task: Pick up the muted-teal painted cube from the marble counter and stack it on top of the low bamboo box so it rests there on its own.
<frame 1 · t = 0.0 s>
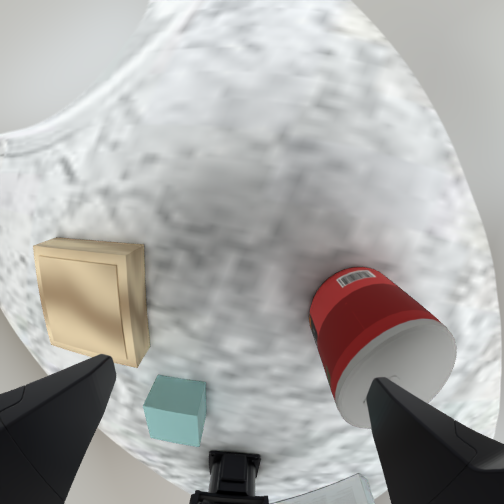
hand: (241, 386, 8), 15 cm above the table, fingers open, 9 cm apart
bamboo box: (101, 291, 24), on the table
canned food: (349, 305, 24), on the table
teal cube: (182, 395, 26), on the table
skincare box: (307, 497, 33), on the table
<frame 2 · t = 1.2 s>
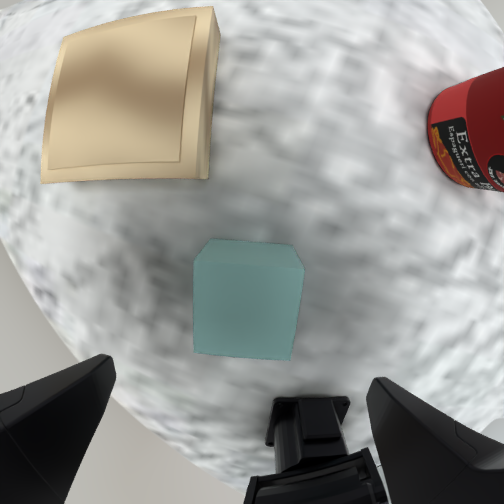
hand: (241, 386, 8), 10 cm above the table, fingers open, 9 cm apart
bamboo box: (140, 105, 16), on the table
canned food: (460, 137, 15), on the table
teal cube: (248, 279, 18), on the table
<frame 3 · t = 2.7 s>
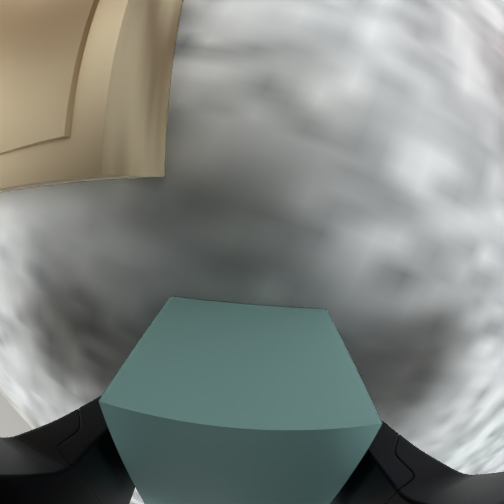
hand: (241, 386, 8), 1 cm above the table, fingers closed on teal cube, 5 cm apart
bamboo box: (62, 63, 7), on the table
teal cube: (243, 367, 9), on the table, touching gripper
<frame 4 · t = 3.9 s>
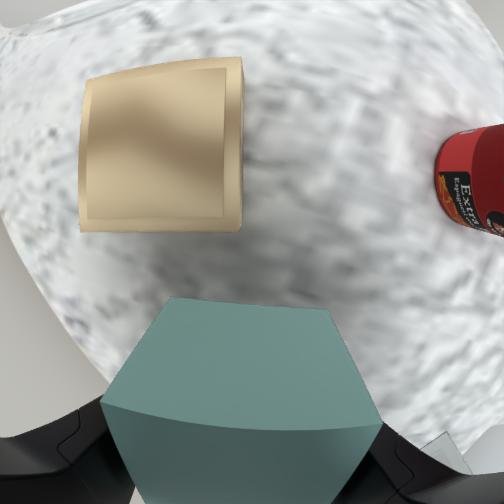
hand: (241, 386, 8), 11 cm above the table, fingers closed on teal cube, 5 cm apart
bamboo box: (170, 151, 18), on the table
canned food: (464, 178, 17), on the table
teal cube: (243, 367, 9), point 10 cm above the table, touching gripper
skincare box: (384, 475, 26), on the table
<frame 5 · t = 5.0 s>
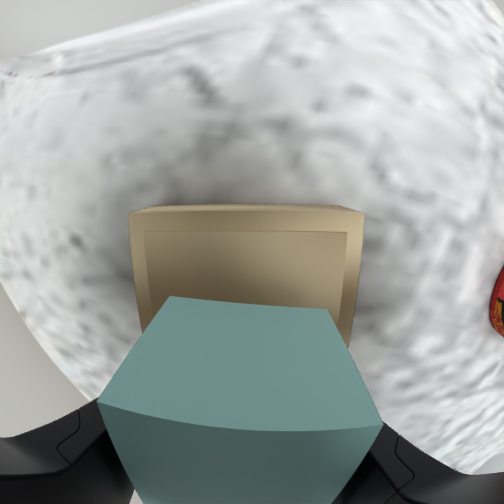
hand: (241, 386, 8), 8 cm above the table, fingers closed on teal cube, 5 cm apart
bamboo box: (247, 291, 16), on the table
teal cube: (242, 367, 9), point 7 cm above the table, touching gripper
when the fingers open (6 cm above the table, at t = 5.6 s): teal cube drops 2 cm, resting on bamboo box.
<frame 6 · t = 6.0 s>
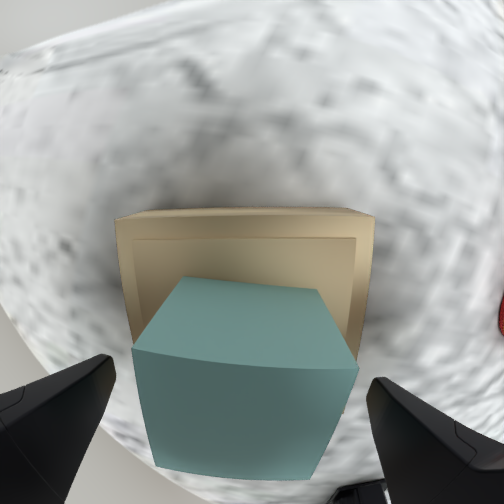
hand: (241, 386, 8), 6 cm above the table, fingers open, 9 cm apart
bamboo box: (247, 300, 15), on the table, touching teal cube
teal cube: (244, 341, 11), point 4 cm above the table, touching bamboo box
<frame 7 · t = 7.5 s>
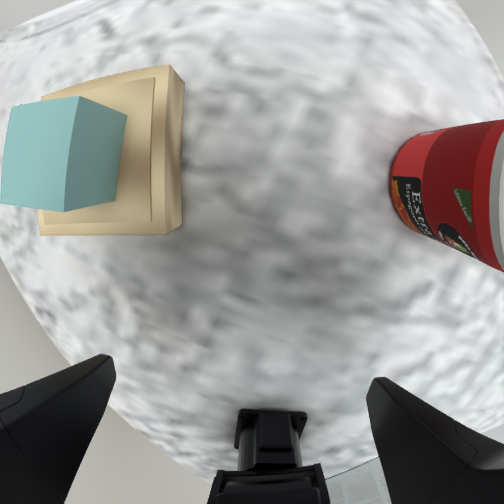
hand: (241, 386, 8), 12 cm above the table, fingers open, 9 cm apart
bamboo box: (118, 156, 18), on the table, touching teal cube
canned food: (427, 183, 18), on the table
teal cube: (86, 156, 14), point 4 cm above the table, touching bamboo box
skincare box: (345, 477, 28), on the table
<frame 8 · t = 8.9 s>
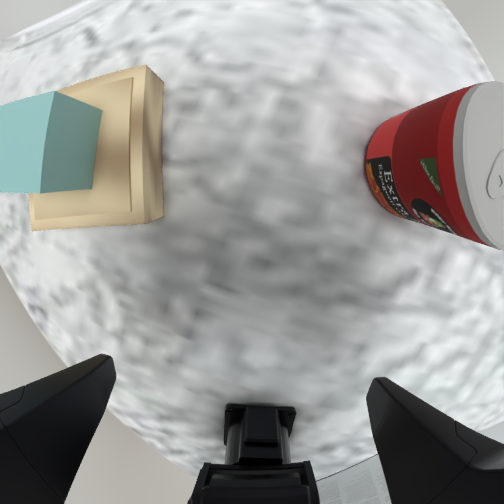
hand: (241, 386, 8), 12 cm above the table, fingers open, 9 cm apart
bamboo box: (104, 155, 18), on the table
canned food: (406, 166, 18), on the table
teal cube: (66, 149, 14), point 4 cm above the table
skincare box: (343, 476, 27), on the table
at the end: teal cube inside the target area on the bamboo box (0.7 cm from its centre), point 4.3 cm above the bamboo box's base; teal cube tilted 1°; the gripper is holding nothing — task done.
